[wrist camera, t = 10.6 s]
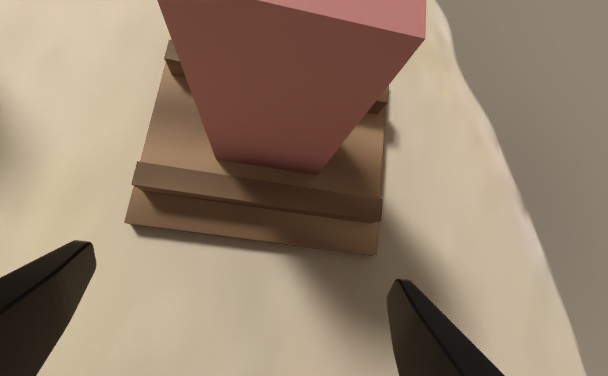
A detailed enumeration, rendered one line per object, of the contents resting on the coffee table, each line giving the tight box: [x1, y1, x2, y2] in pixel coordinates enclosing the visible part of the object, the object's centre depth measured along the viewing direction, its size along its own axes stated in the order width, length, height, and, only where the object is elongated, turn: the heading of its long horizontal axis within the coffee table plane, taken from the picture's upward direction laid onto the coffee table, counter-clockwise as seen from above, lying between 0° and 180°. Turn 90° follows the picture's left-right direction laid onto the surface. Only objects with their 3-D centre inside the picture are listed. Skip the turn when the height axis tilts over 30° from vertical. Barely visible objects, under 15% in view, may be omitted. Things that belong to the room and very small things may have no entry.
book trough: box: [124, 40, 389, 255], centre depth 18 cm, size 12×14×2 cm
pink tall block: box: [158, 0, 426, 175], centre depth 13 cm, size 4×6×12 cm, turn 83°
